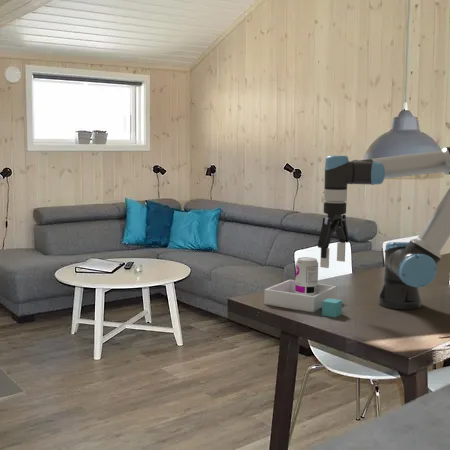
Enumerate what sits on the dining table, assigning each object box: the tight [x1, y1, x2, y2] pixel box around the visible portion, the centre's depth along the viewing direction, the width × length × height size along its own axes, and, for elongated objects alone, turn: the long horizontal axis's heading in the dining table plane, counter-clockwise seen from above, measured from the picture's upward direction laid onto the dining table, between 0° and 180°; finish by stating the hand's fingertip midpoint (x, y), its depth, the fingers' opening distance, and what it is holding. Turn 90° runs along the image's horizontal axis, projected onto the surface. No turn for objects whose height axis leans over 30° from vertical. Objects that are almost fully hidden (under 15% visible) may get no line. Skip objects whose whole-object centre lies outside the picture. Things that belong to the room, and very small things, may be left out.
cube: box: [321, 298, 343, 318], centre depth 216 cm, size 5×5×5 cm
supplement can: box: [295, 256, 319, 296], centre depth 234 cm, size 8×8×15 cm
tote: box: [263, 279, 338, 313], centre depth 232 cm, size 20×20×6 cm
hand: (332, 264), depth 214 cm, fingers open, 13 cm apart
